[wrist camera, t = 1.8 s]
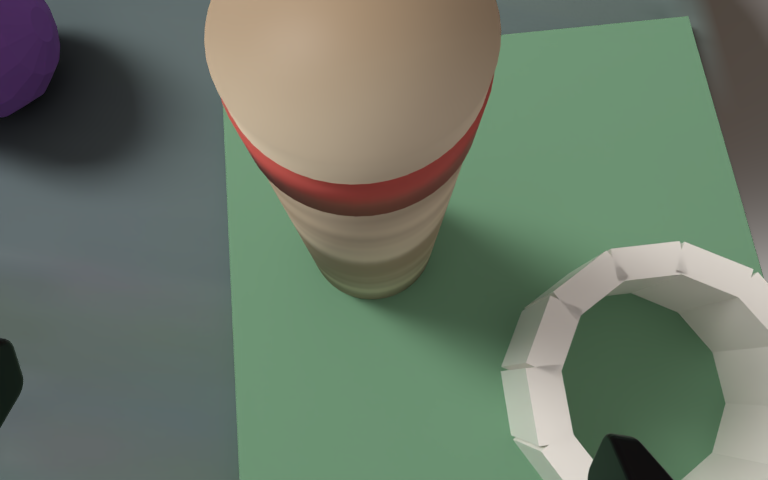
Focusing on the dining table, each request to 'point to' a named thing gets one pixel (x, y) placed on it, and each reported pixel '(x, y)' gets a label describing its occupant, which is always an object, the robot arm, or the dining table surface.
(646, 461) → the robot arm
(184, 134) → the dining table surface
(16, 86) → the purple faceted ball
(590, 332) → the putting mat
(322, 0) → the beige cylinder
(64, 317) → the dining table surface
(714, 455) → the cup
